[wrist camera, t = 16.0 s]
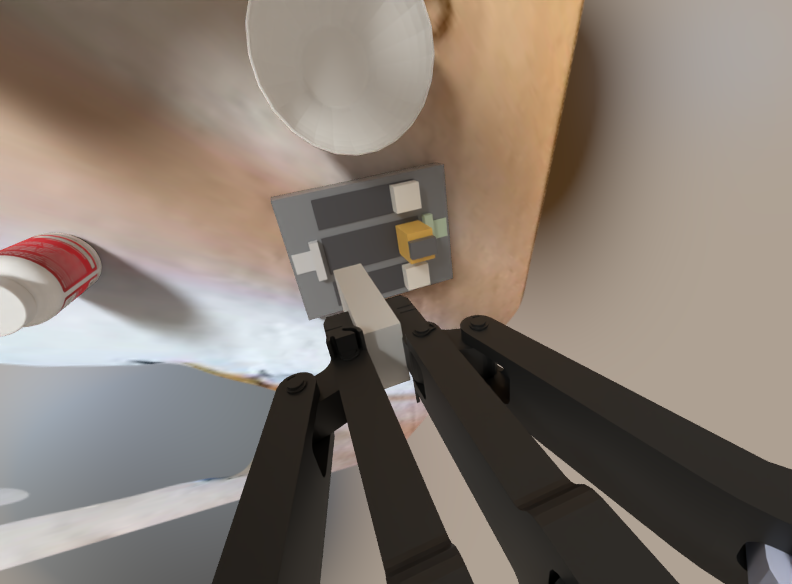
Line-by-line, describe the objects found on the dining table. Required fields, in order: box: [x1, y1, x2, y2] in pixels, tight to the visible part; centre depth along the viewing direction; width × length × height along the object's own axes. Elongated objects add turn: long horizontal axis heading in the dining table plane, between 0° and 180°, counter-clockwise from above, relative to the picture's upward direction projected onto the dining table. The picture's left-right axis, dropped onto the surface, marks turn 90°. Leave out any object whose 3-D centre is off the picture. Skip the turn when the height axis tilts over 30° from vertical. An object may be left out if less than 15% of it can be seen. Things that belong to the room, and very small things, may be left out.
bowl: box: [245, 0, 434, 156], centre depth 31 cm, size 16×16×7 cm
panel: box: [271, 163, 453, 320], centre depth 41 cm, size 20×15×4 cm
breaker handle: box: [395, 220, 438, 264], centre depth 39 cm, size 3×4×5 cm
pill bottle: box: [0, 233, 102, 337], centre depth 29 cm, size 6×6×11 cm
